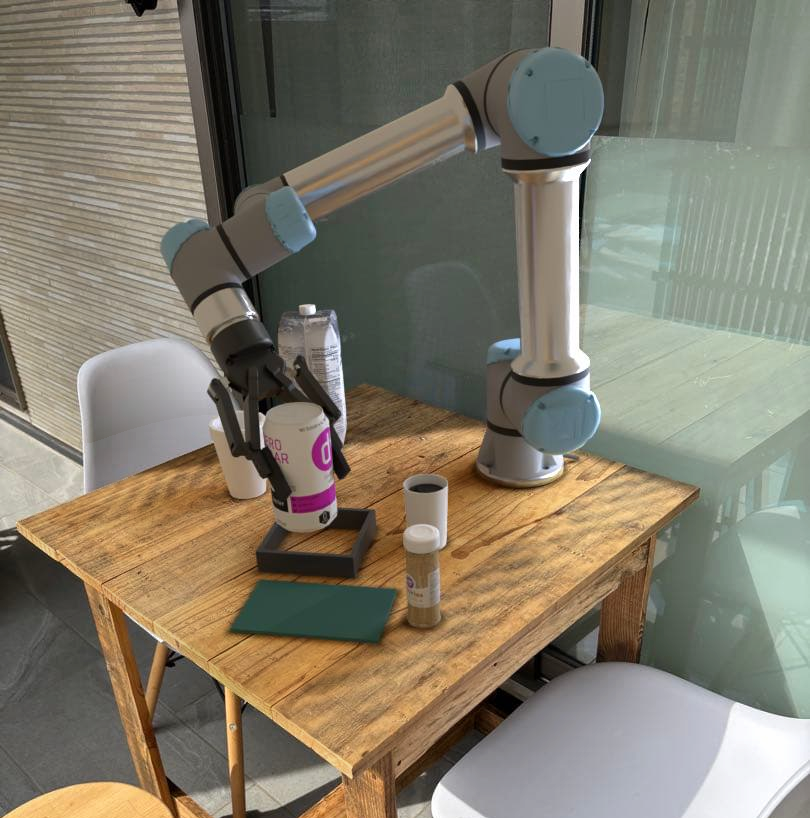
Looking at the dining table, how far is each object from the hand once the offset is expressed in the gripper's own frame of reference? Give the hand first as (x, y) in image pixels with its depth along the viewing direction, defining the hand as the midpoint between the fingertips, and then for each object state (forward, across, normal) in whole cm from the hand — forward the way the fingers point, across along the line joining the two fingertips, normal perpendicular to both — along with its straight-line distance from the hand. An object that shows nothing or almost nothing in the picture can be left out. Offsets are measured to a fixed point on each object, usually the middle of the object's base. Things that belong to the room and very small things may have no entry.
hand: (316, 485), depth 106 cm
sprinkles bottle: (+21, -8, -6) cm, 23 cm away
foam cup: (-14, -10, -41) cm, 45 cm away
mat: (+13, +2, -13) cm, 19 cm away
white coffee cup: (+10, -21, -16) cm, 29 cm away
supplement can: (+2, 0, -7) cm, 7 cm away
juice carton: (-18, -29, -45) cm, 56 cm away
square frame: (+3, -8, -23) cm, 24 cm away
